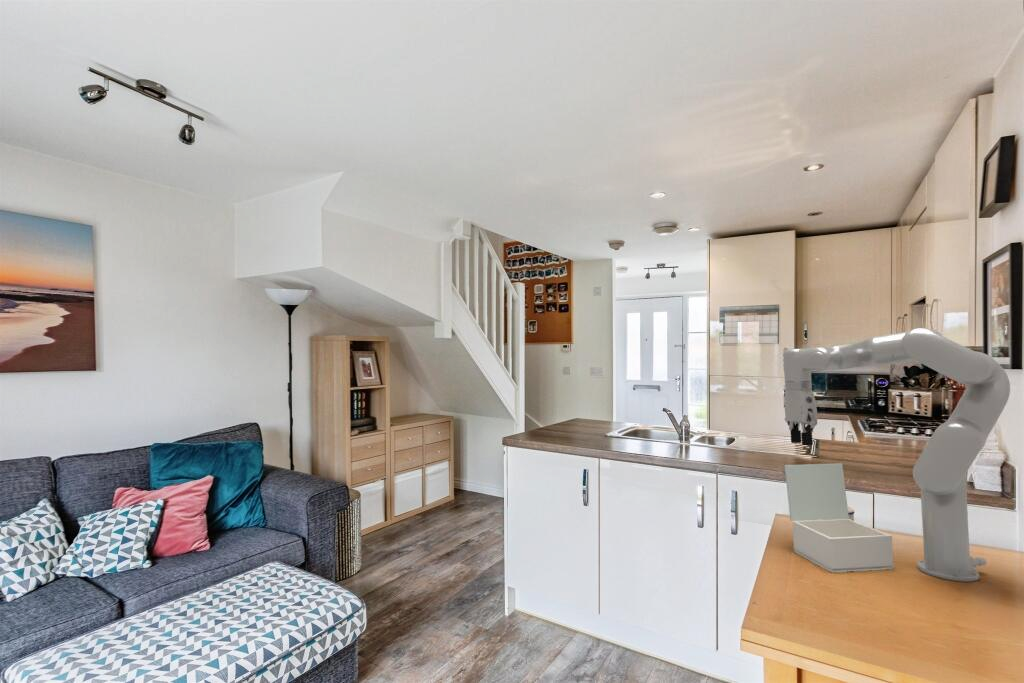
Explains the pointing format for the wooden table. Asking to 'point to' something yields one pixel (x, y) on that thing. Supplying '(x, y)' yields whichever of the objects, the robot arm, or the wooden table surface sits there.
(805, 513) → the carton lid
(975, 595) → the wooden table surface
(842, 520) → the carton
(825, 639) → the wooden table surface
